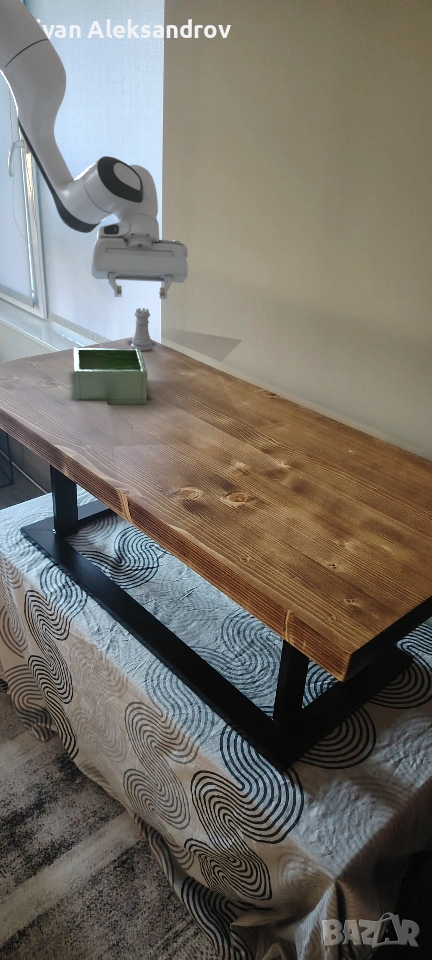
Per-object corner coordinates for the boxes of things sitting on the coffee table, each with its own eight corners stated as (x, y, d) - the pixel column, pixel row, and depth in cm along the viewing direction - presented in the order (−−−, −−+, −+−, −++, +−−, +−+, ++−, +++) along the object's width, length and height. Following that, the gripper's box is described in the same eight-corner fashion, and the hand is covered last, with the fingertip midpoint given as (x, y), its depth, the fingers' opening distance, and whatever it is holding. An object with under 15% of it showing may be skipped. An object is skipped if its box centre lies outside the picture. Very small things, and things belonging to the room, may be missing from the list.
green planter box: (75, 404, 102) (74, 371, 99) (74, 379, 112) (73, 347, 109) (146, 404, 105) (147, 371, 102) (139, 379, 114) (140, 348, 112)
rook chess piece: (127, 349, 129) (127, 310, 125) (136, 343, 133) (136, 305, 129) (147, 352, 128) (148, 313, 124) (155, 347, 132) (156, 308, 128)
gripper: (184, 250, 139) (188, 306, 136) (91, 245, 135) (92, 302, 132) (188, 232, 133) (192, 290, 130) (90, 226, 129) (91, 286, 126)
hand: (140, 296), depth 131 cm, fingers open, 8 cm apart
